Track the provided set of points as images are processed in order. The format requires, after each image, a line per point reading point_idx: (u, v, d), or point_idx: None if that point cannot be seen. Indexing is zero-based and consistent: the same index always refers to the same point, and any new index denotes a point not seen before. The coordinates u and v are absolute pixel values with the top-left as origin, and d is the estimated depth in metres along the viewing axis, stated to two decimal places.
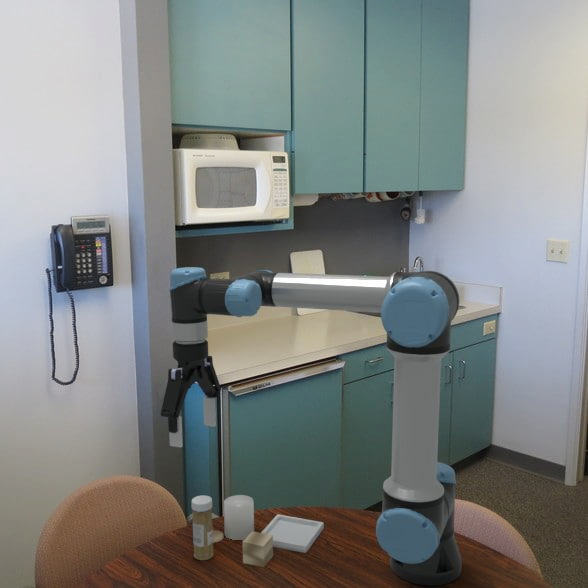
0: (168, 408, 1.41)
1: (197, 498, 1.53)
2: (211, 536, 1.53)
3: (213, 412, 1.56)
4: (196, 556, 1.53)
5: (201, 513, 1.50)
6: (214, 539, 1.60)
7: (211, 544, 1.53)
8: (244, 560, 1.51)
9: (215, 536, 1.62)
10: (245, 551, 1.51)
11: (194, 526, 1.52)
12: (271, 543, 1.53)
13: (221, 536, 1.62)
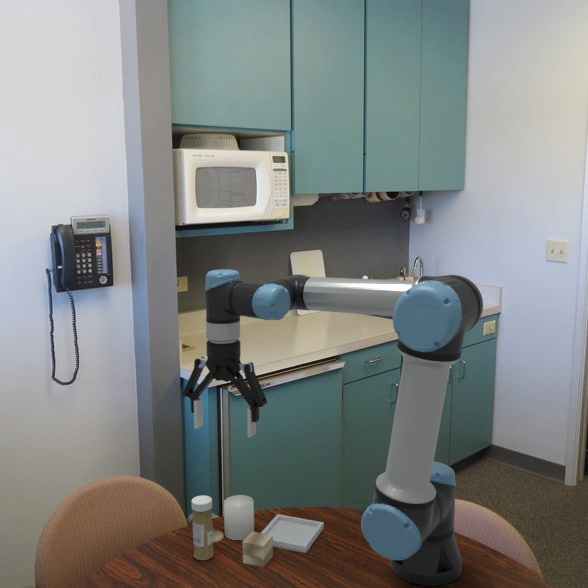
0: None
1: (197, 498, 1.53)
2: (211, 536, 1.53)
3: None
4: (196, 556, 1.53)
5: (201, 513, 1.50)
6: (215, 539, 1.61)
7: (211, 544, 1.53)
8: (244, 560, 1.51)
9: (215, 536, 1.62)
10: (245, 551, 1.51)
11: (194, 526, 1.52)
12: (271, 543, 1.53)
13: (221, 535, 1.62)
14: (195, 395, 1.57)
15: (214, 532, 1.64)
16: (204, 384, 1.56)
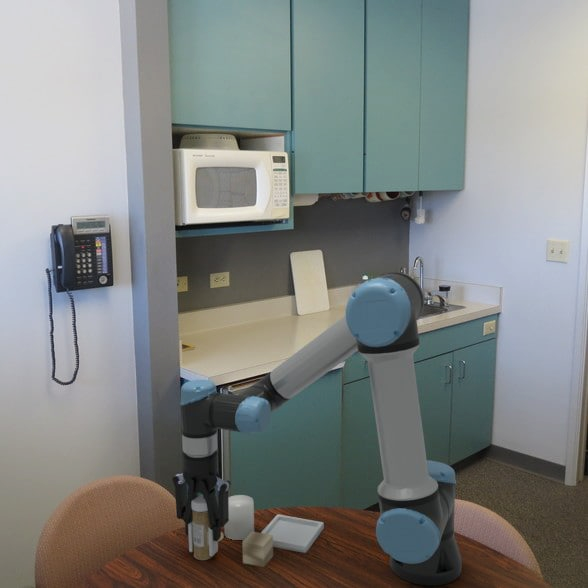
0: None
1: (197, 498, 1.53)
2: None
3: (209, 541, 1.52)
4: (196, 556, 1.53)
5: (201, 513, 1.50)
6: None
7: None
8: (244, 560, 1.51)
9: None
10: (245, 551, 1.51)
11: (194, 526, 1.52)
12: (271, 543, 1.53)
13: (222, 535, 1.62)
14: (188, 516, 1.53)
15: None
16: (190, 501, 1.52)
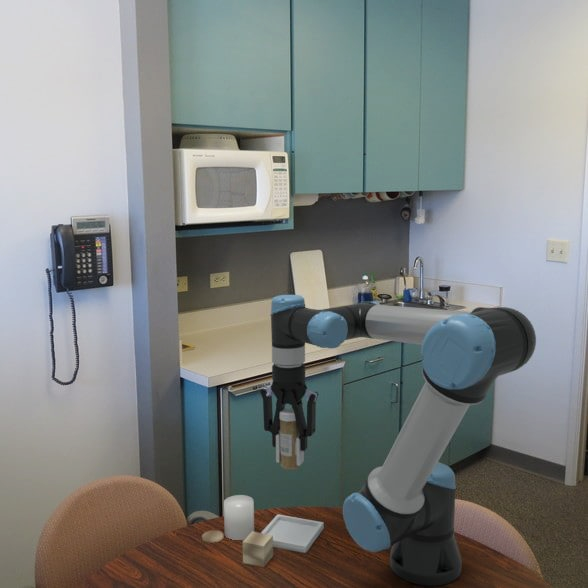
0: None
1: (284, 410, 1.58)
2: None
3: (296, 451, 1.57)
4: (284, 466, 1.58)
5: (290, 423, 1.56)
6: (217, 538, 1.61)
7: None
8: (244, 560, 1.51)
9: (216, 535, 1.62)
10: (245, 551, 1.51)
11: (282, 436, 1.57)
12: (271, 543, 1.53)
13: (221, 534, 1.63)
14: (275, 428, 1.58)
15: (212, 532, 1.64)
16: (278, 413, 1.57)
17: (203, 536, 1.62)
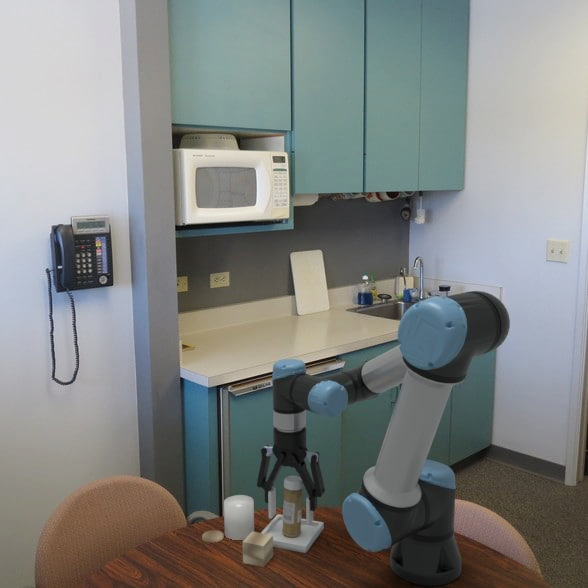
0: None
1: (289, 478, 1.61)
2: (300, 514, 1.61)
3: None
4: (285, 533, 1.61)
5: (294, 492, 1.59)
6: (218, 538, 1.61)
7: (300, 522, 1.61)
8: (244, 560, 1.51)
9: (216, 535, 1.62)
10: (245, 551, 1.51)
11: (285, 504, 1.60)
12: (271, 543, 1.53)
13: (221, 534, 1.63)
14: (269, 485, 1.61)
15: (212, 532, 1.64)
16: (275, 473, 1.60)
17: (203, 536, 1.62)
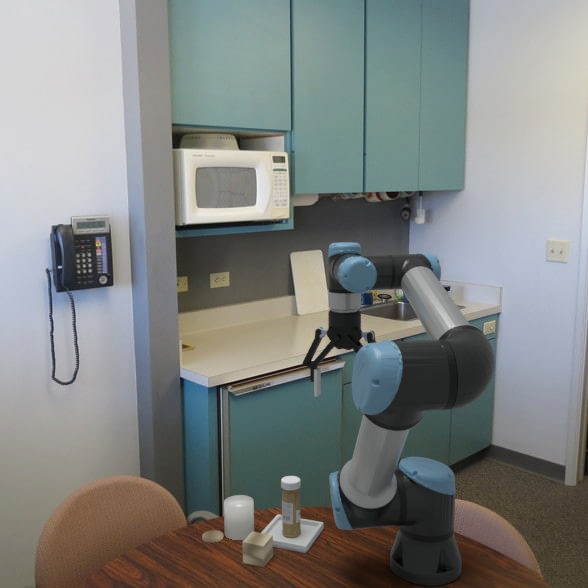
0: None
1: (286, 478, 1.61)
2: (299, 514, 1.61)
3: None
4: (285, 533, 1.61)
5: (291, 492, 1.59)
6: (219, 537, 1.61)
7: (299, 522, 1.61)
8: (244, 560, 1.51)
9: (216, 535, 1.62)
10: (245, 551, 1.51)
11: (284, 504, 1.60)
12: (271, 543, 1.53)
13: (221, 533, 1.63)
14: (315, 364, 1.63)
15: (211, 532, 1.64)
16: (325, 353, 1.62)
17: (204, 537, 1.61)
